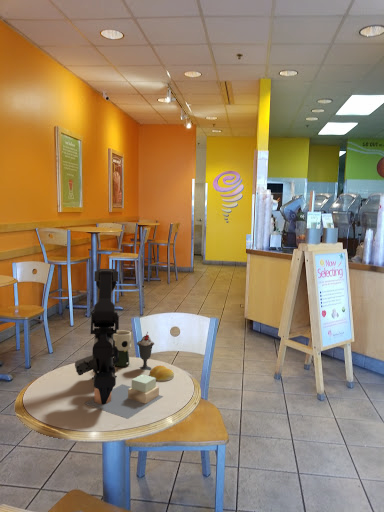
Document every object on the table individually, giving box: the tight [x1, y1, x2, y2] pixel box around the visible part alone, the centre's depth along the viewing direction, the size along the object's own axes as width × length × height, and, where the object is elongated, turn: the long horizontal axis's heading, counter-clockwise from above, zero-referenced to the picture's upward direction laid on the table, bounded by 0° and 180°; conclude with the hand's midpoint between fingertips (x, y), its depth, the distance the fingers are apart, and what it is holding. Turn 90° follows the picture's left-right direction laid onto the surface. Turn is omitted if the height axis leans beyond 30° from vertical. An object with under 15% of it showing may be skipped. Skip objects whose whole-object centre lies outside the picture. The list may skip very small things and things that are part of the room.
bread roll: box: [149, 365, 175, 382], centre depth 148 cm, size 8×9×4 cm
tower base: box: [128, 385, 160, 404], centre depth 130 cm, size 7×7×3 cm
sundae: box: [136, 331, 155, 371], centre depth 155 cm, size 7×7×15 cm
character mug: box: [113, 329, 132, 367], centre depth 158 cm, size 11×7×13 cm, turn 149°
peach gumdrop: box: [93, 387, 111, 404], centre depth 126 cm, size 5×5×4 cm
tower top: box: [131, 373, 157, 393], centre depth 129 cm, size 6×6×3 cm
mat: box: [83, 384, 164, 420], centre depth 127 cm, size 17×18×1 cm
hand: (102, 397), depth 126 cm, fingers open, 9 cm apart
